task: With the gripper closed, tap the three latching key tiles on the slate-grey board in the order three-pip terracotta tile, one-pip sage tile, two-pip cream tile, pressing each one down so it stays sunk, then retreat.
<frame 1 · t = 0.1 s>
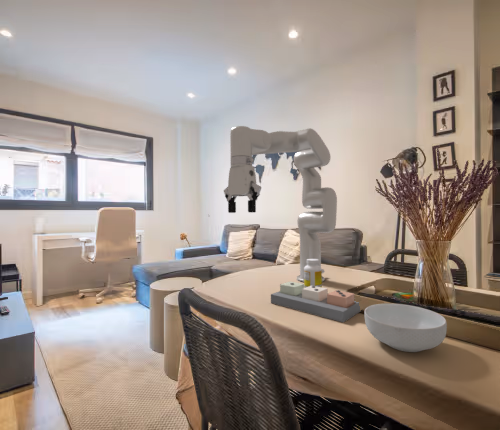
hand: (241, 212, 97), 31 cm above the table, fingers open, 9 cm apart
cereal bowl: (403, 345, 65), on the table
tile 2: (314, 294, 92), point 4 cm above the table, slide at 0.0 cm
supplement bottle: (313, 293, 109), on the table
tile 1: (292, 289, 98), point 4 cm above the table, slide at 0.0 cm
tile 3: (340, 299, 86), point 4 cm above the table, slide at 0.0 cm
key board: (314, 306, 92), on the table
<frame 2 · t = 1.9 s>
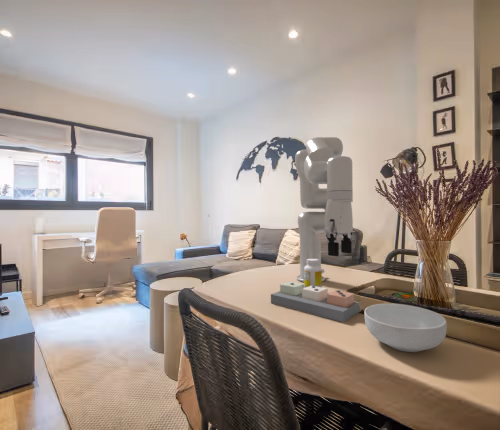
hand: (340, 254, 86), 18 cm above the table, fingers open, 8 cm apart
nothing on the table moved.
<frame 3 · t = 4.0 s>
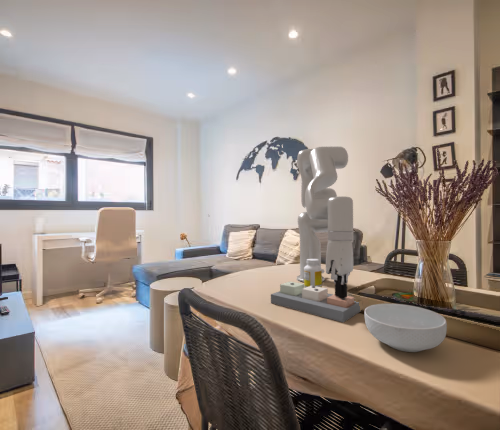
hand: (341, 296, 86), 5 cm above the table, fingers closed
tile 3: (340, 303, 86), point 3 cm above the table, slide at 1.1 cm, touching gripper
everything else where it was.
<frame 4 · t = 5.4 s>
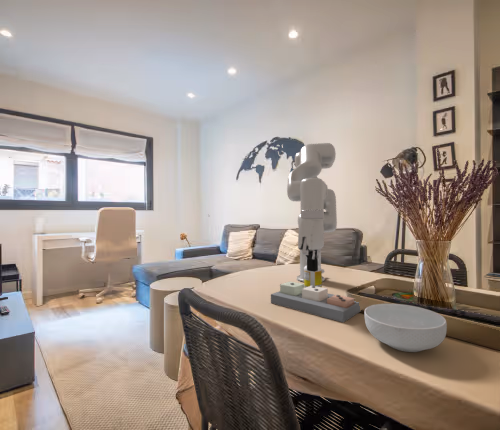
hand: (312, 270, 93), 12 cm above the table, fingers closed
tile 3: (340, 304, 86), point 3 cm above the table, slide at 1.4 cm
everything else where it was.
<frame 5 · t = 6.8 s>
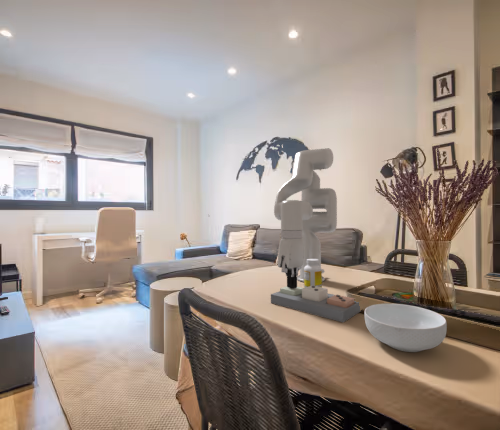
hand: (292, 287, 98), 5 cm above the table, fingers closed
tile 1: (292, 293, 98), point 3 cm above the table, slide at 1.4 cm, touching gripper
everything else where it was.
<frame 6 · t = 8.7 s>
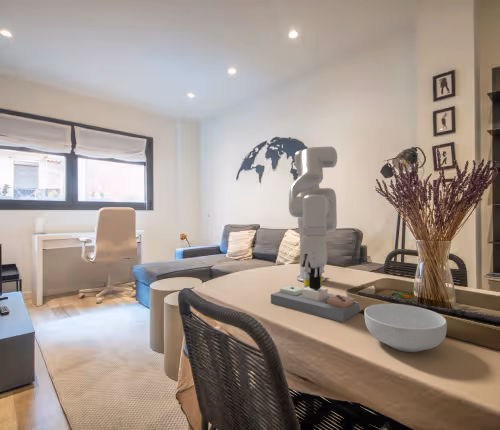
hand: (314, 288, 92), 6 cm above the table, fingers closed
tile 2: (314, 294, 92), point 4 cm above the table, slide at 0.0 cm, touching gripper
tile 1: (292, 293, 98), point 2 cm above the table, slide at 1.5 cm
everything else where it was.
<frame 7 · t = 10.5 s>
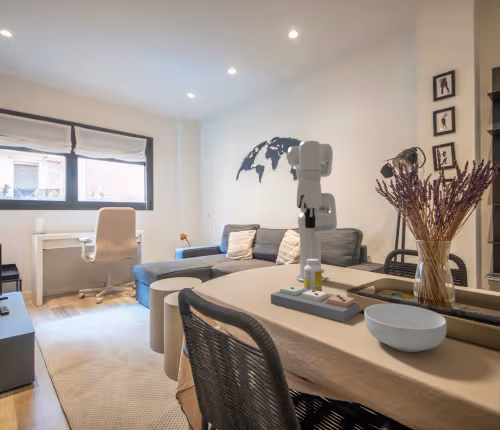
hand: (310, 227, 101), 26 cm above the table, fingers closed
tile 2: (314, 298, 92), point 3 cm above the table, slide at 1.4 cm
everything else where it was.
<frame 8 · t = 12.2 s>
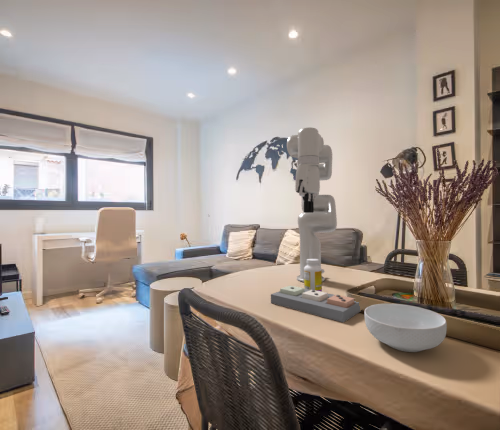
hand: (308, 212, 103), 31 cm above the table, fingers closed
nothing on the table moved.
at the end: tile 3 slide at 1.4 cm; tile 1 slide at 1.5 cm; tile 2 slide at 1.4 cm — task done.
